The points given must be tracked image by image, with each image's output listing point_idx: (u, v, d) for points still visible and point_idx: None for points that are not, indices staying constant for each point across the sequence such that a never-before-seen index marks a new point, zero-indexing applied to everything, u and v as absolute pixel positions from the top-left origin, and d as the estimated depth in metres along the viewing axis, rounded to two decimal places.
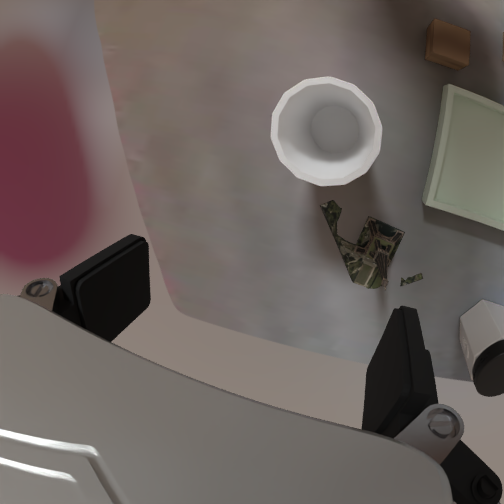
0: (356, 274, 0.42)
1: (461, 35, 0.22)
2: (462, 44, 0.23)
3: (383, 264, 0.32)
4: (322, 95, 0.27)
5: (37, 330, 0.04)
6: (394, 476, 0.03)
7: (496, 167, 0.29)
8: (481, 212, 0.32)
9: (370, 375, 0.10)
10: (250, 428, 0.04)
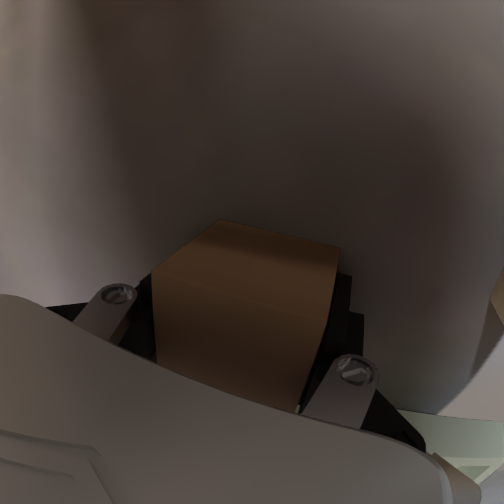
0: None
1: (271, 343, 0.08)
2: (270, 376, 0.08)
3: None
4: None
5: (37, 330, 0.04)
6: (394, 476, 0.03)
7: None
8: None
9: None
10: (250, 429, 0.04)
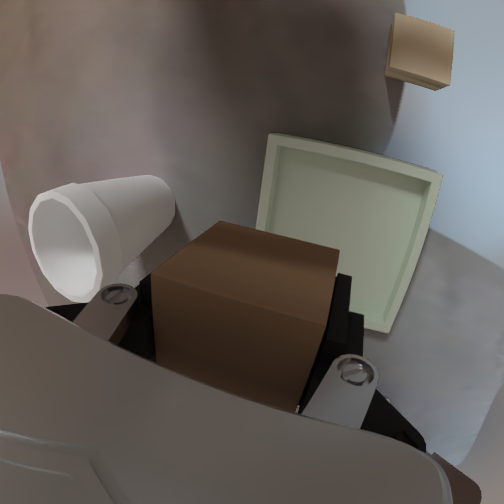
0: None
1: (270, 346, 0.08)
2: (269, 378, 0.08)
3: None
4: None
5: (37, 330, 0.04)
6: (394, 476, 0.03)
7: (361, 243, 0.26)
8: None
9: None
10: (250, 428, 0.04)
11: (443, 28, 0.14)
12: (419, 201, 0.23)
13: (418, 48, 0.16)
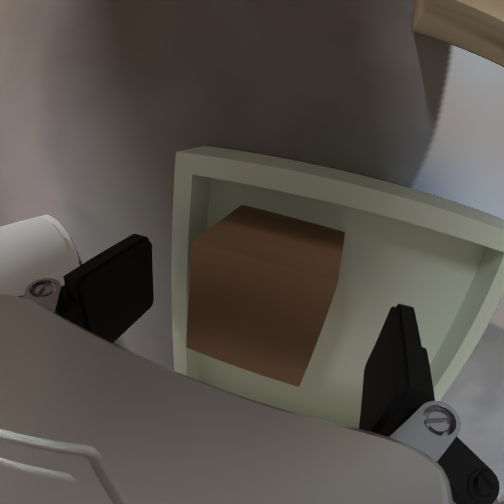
0: None
1: (291, 302, 0.09)
2: (288, 333, 0.10)
3: None
4: None
5: (37, 330, 0.04)
6: (394, 476, 0.03)
7: (359, 345, 0.14)
8: (317, 416, 0.17)
9: (367, 373, 0.10)
10: (249, 428, 0.04)
11: None
12: (470, 278, 0.11)
13: None
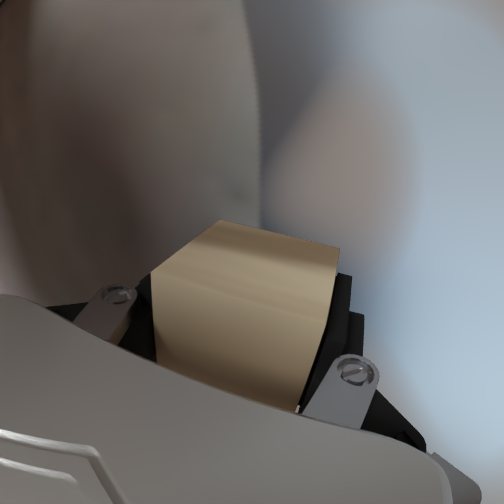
0: None
1: None
2: None
3: None
4: None
5: (37, 330, 0.04)
6: (394, 476, 0.03)
7: None
8: None
9: None
10: (249, 428, 0.04)
11: (288, 318, 0.07)
12: None
13: (211, 364, 0.09)
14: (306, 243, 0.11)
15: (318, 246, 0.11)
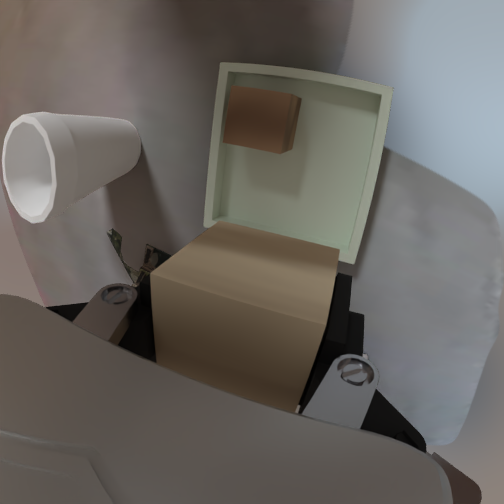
0: None
1: (273, 105, 0.21)
2: (272, 120, 0.21)
3: None
4: None
5: (37, 330, 0.04)
6: (394, 476, 0.03)
7: (318, 165, 0.26)
8: (299, 231, 0.29)
9: None
10: (250, 428, 0.04)
11: (287, 320, 0.07)
12: (374, 119, 0.23)
13: (211, 365, 0.08)
14: (306, 244, 0.11)
15: (319, 246, 0.11)
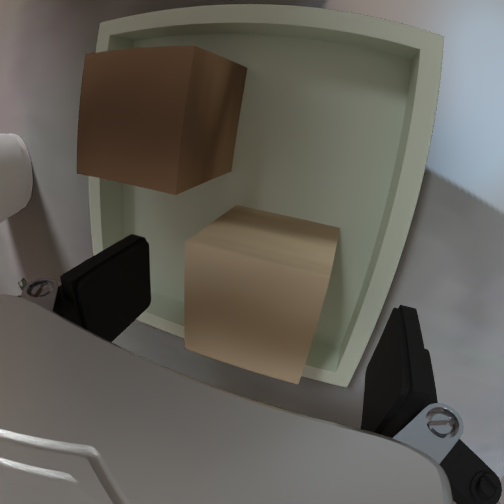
0: None
1: (156, 79, 0.08)
2: (155, 116, 0.08)
3: None
4: None
5: (37, 330, 0.04)
6: (394, 476, 0.03)
7: (282, 203, 0.13)
8: None
9: (369, 374, 0.10)
10: (250, 428, 0.04)
11: (299, 274, 0.09)
12: (402, 107, 0.10)
13: (234, 321, 0.10)
14: (311, 223, 0.13)
15: (321, 225, 0.13)
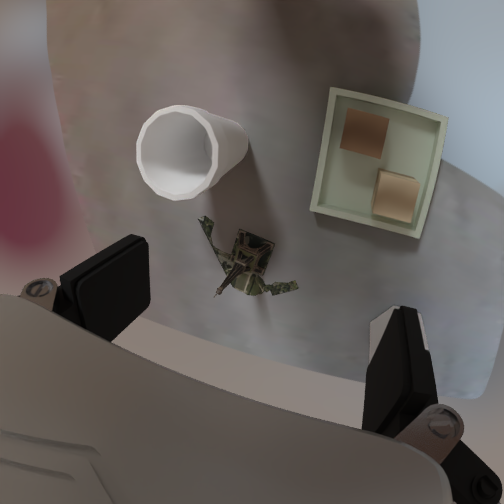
0: (235, 280, 0.48)
1: (377, 125, 0.29)
2: (376, 136, 0.29)
3: (231, 274, 0.38)
4: (190, 117, 0.32)
5: (37, 330, 0.04)
6: (394, 476, 0.03)
7: (395, 168, 0.34)
8: (379, 216, 0.37)
9: (370, 375, 0.10)
10: (249, 428, 0.04)
11: (412, 183, 0.30)
12: (433, 138, 0.31)
13: (392, 199, 0.31)
14: (404, 175, 0.34)
15: None
